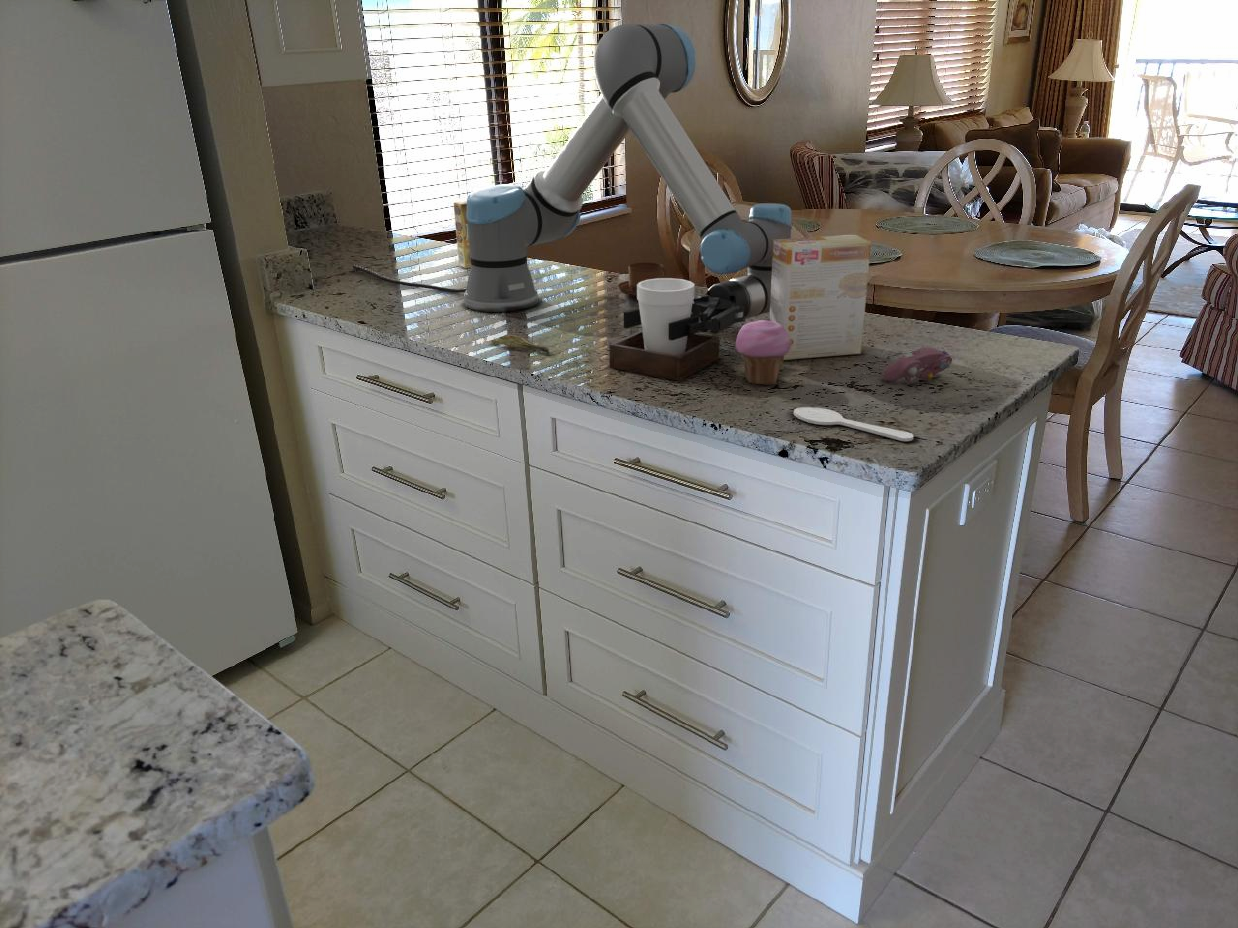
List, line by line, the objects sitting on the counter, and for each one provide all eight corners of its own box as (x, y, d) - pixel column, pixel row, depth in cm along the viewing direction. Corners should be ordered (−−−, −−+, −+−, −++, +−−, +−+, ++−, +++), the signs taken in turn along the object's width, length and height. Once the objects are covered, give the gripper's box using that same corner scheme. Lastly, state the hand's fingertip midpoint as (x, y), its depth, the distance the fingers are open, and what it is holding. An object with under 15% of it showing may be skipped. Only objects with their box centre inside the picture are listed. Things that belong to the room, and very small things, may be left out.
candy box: (465, 269, 232) (460, 204, 225) (458, 266, 235) (452, 202, 229) (498, 264, 236) (494, 200, 230) (489, 261, 239) (485, 198, 233)
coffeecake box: (844, 343, 172) (854, 233, 164) (862, 354, 166) (873, 241, 158) (766, 349, 170) (772, 238, 162) (780, 361, 163) (787, 246, 155)
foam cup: (688, 370, 158) (689, 292, 152) (633, 367, 159) (632, 290, 154) (695, 353, 166) (697, 279, 161) (643, 350, 168) (643, 277, 163)
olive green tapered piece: (544, 356, 167) (543, 345, 166) (488, 348, 174) (487, 337, 173) (559, 350, 170) (558, 339, 169) (503, 342, 177) (502, 332, 176)
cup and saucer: (632, 285, 214) (632, 258, 212) (682, 291, 209) (682, 262, 207) (608, 298, 204) (608, 269, 202) (660, 303, 199) (660, 274, 197)
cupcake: (788, 391, 149) (792, 329, 145) (732, 389, 151) (734, 327, 146) (789, 373, 157) (792, 314, 153) (736, 371, 159) (738, 312, 154)
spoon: (904, 445, 129) (904, 442, 128) (786, 416, 139) (786, 413, 139) (920, 433, 132) (920, 430, 132) (803, 406, 143) (804, 403, 142)
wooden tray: (609, 367, 161) (609, 344, 160) (651, 347, 172) (651, 325, 170) (679, 381, 154) (680, 357, 153) (719, 359, 165) (720, 336, 163)
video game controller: (893, 396, 151) (910, 363, 146) (878, 376, 154) (895, 343, 149) (943, 387, 155) (961, 355, 150) (927, 367, 157) (945, 335, 152)
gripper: (783, 333, 166) (697, 362, 151) (686, 310, 180) (600, 335, 166) (785, 290, 163) (699, 315, 148) (687, 271, 177) (600, 292, 163)
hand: (647, 326), depth 157 cm, fingers open, 9 cm apart
